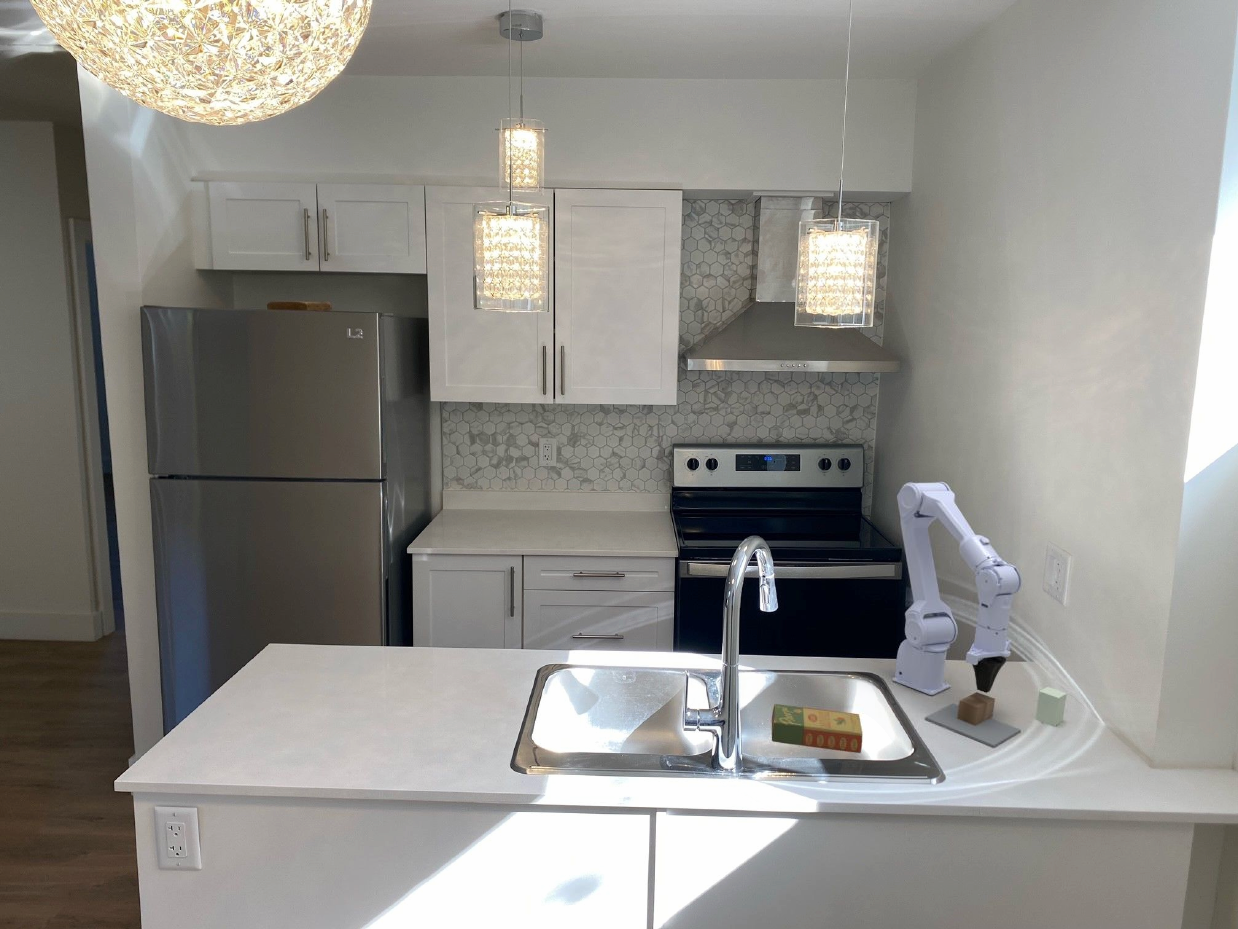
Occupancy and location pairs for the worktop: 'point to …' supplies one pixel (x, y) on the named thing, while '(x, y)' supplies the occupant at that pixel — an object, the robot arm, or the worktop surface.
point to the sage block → (1050, 706)
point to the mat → (973, 727)
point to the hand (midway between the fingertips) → (983, 690)
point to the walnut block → (976, 708)
